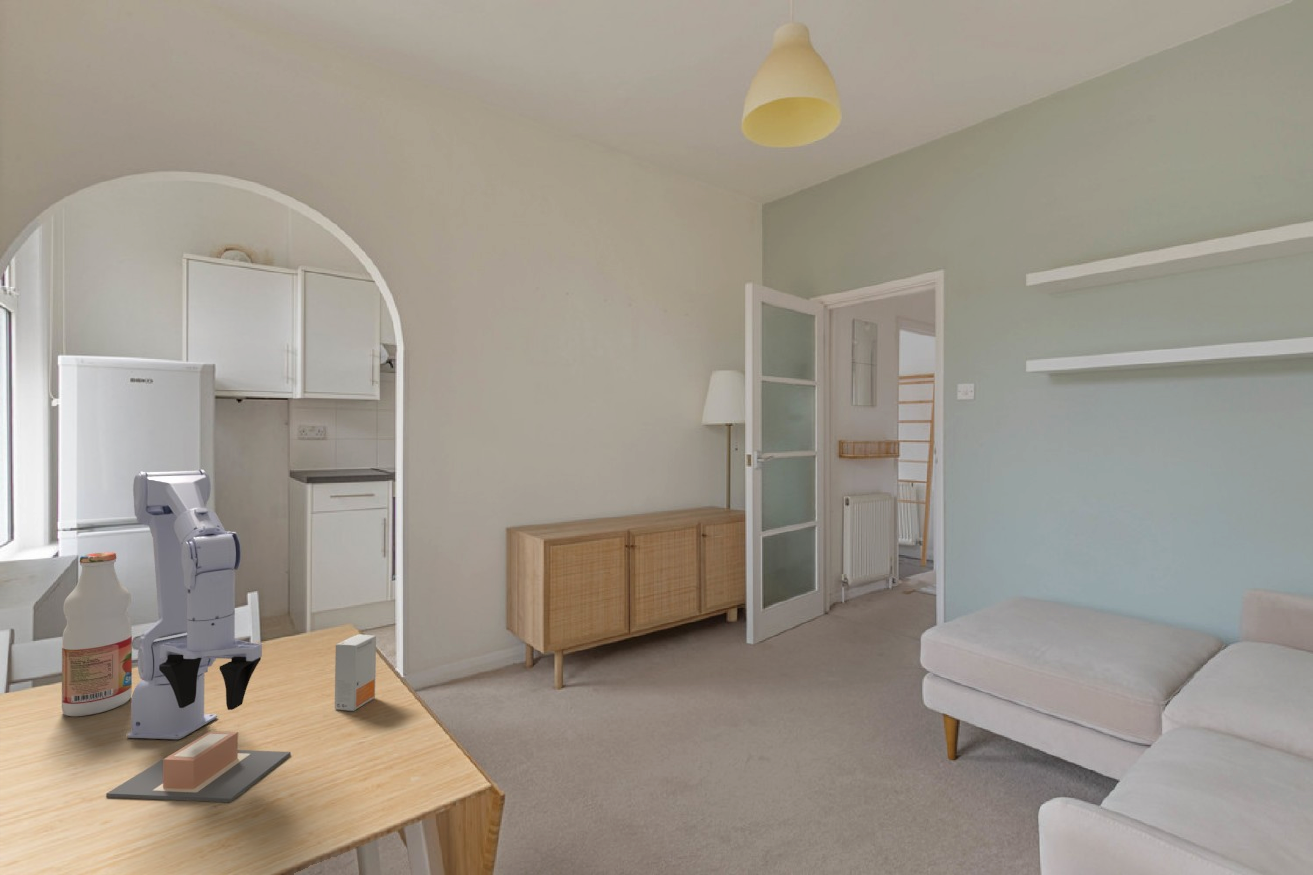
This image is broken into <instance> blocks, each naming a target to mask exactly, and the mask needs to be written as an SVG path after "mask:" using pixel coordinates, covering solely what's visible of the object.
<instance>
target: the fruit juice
mask: <svg viewBox="0 0 1313 875" xmlns="http://www.w3.org/2000/svg"><path fill="white" fill-rule="evenodd" d="M116 561H117V554H116V553H115V552H114V551H113V552H109V551H107V552H95V553H93V552H92V553H87V554H83V555H80V556H79V563H80V564H79V565H80V566H81V568H82V569H81V573H80V576H79V578H78V582H77V584H76V585H75V587H74V588H73V590H72V591H71V592H70V593H69V594H68V595H67V597H66V598H65V599H64V602H63V609H62V611H63V614H64V616H65V620H66V626H65V628H64V629H63V633H62V640H61V710H62V713H63V715H65V716H68V717H84V716H91V715H96V714H101V713H104V712H107V711H111V710H113V709H116V708H118V707H120V706H123V705H124V704H126V703H127V702H129V701H130V699H131V698H132V694H133V692H132V689H133V688H132V685H133V683H132V681H133V680H132V679H133V678H132V677H133V676H132V675H133V673H132V670H133V668H132V667H133V666H132V662H133V654H132V653H133V650H132V649H133V644H132V643H133V628H132V627H133V626H132V620H131V618H130V617H129V615H128V614H129V612H128V611H129V609H130V605H131V603H132V602H131V601H132V596H131V592H130V590H129V589H128V588H127V587H126V586H125V585H124V584H122V583H121V581H120V579H119V578H118V575H117V573H116V570H115V563H116Z"/></svg>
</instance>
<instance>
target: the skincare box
mask: <svg viewBox="0 0 1313 875" xmlns="http://www.w3.org/2000/svg"><path fill="white" fill-rule="evenodd" d="M376 646H377V635H373V634H372V635H370V634H361V633H359V634H356V635H355V634H354V635H353V636H350V637H348V638H346V639H345V640H343V641H341V642H338V643H336V644H335V660H334V661H335V665H334V667H335V668H334V672H335V673H334V710H338V711H339V710H341V711H349V712H354V711H356V710H357V709H359V708H361V707H362V706H364V705H366V704H367V703H369V702H370V701H373V700H374V699H376V672H377V671H376V670H377V669H376V663H377V655H376V654H377V647H376Z"/></svg>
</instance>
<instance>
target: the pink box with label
mask: <svg viewBox="0 0 1313 875" xmlns="http://www.w3.org/2000/svg"><path fill="white" fill-rule="evenodd" d="M238 734H239V733H238V731H215V730H213V731H211V730H210V731H207V732H206V733H204V734H203V735H201V736H199V737H198V738H196V739H194V740H193V741H191V742H190V743H188V744H186V745H185V746H182V747H180V748H181V749H180V748H179V749H180V750H179V749H177V750H178V751H177V750H176V751H174V752H175V753H174V752H172V753H173V754H172V753H171V754H169V755H170V756H169V755H167V756H168V757H167V756H166V757H164V758H165V759H164V758H162V759H163V788H175V789H195V788H196V787H198V786H199V785H200V784H202V783H203V782H205V781H206V780H208V779H209V778H210V777H212V776H213V775H215V774H216V773H217V772H219V771H220V770H222V769H223V768H225V767H226V766H227V765H229V764H230V763H232V762H233V761H234V760H236V759H237V758H238V750H239V747H238V746H239V745H238V744H239V740H238V739H239V738H238V737H239V735H238Z"/></svg>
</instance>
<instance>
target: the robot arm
mask: <svg viewBox="0 0 1313 875" xmlns="http://www.w3.org/2000/svg"><path fill="white" fill-rule="evenodd" d="M132 487H133V488H132V492H133V508H134V509H133V510H134V516H135V518H136V523H139V524H143V525H146V526H148V527H149V531H150V533H151V536H152V543H153V546H152V547H153V556H154V558H153V559H154V570H155V571H154V572H155V584H156V597H157V598H156V600H157V614H158V620H157V621H156V622H155V623H154V624H152V625H151V626H150V627H148V628H147V629H146V630H145V631H144V632H142V634H141V635H140V637H139V639H138V650H137V669H138V676H139V678H140V681H139V682H138V683H137V684H136V686H135V688H134V689H133V692H132V693H131V704H130V705H131V709H130V710H131V711H130V712H131V717H130V718H131V723H130V726H131V727H130V728H131V730H130V732H129V733H127V734H126V738H129V739H130V738H131V739H155V740H158V739H160V740H180V739H183V738H185V737H186V736H188V735H190V734H191V733H193V732H195V731H196V730H198V729H200V728H202V727H204V726H205V725H207V724H209V723H210V722H212V721H214V720H215V719H217V718H218V714H215V713H205V673H208V670H209V667H212V666H213V665H214V663H215V661H217V660H216V659H226V660H227V659H231V661H229V662H227V663H224V664H222V665H219V672H220V673H221V675H222V678H223V681H224V682H223V683H224V686H225V701H226V707H227V708H226V709H227V711H232V710H235V709H237V708H238V707H240V706H242V705H243V701H244V698H245V695H246V691H247V688H248V685H249V683H250V680H251V678H252V675H253V674H254V672H255V670H256V668H257V666H258V664H259V663H260V662H261V659H262V657H263V644H262V643H256V642H255V643H254V642H249V641H245V640H241V639H237V638H235V636H236V635H235V628H236V627H235V619H236V618H235V616H236V572H235V571H237V570H239V569H240V566H241V562H242V545H241V539H240V538H239V535H238V532H236V531H231V530H228V531H227V530H226V529H225V527H224V525H223V524H222V522H221V519H220V518H219V516H218V514H217V513H216V512H215V511H214V510H212V509H211V508H207V507H206V505H207V504H208V501H209V500H210V497H211V489H212V488H211V487H212V486H211V478H210V475H209V473H208V472H206V470H205V469H198V470H178V471H177V470H176V471H175V470H174V471H147V472H145V471H139V472H138V473H137V474H136V475H135V476H134V478H133V484H132ZM182 634H183V635H182ZM178 635H181V636H178ZM174 636H175V637H174ZM167 637H171V638H167ZM162 638H163V639H162ZM164 638H166V639H164ZM157 639H158V640H157ZM159 639H161V640H159Z"/></svg>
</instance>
